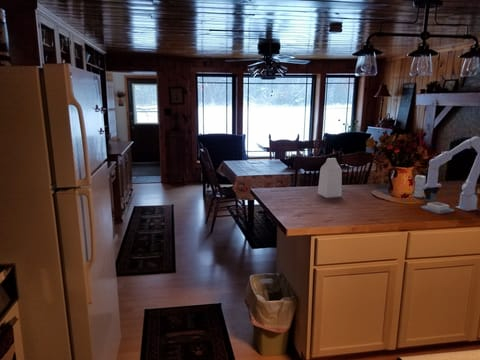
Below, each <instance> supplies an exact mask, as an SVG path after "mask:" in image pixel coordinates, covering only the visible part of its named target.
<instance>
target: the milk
mask: <svg viewBox="0 0 480 360" xmlns="http://www.w3.org/2000/svg"><path fill="white" fill-rule="evenodd" d="M342 173H343V170H342V168H341V165H339V163H338V161H337V158H336V157H331V158H330V157H328V158H327V159H326V161H325V162H324V164H322V166H321V167H320V170H319V179H318V188H317V194H318V195H319V196H321V197H324V198H326V199H328V198H338V197H339V198H340V197H342V191H343V190H342V188H343V186H342V183H343V182H342V181H343V179H342V177H343V174H342Z"/></svg>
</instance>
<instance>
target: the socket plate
mask: <svg viewBox="0 0 480 360" xmlns="http://www.w3.org/2000/svg"><path fill="white" fill-rule="evenodd" d="M420 208H421V209H422V210H425V211H429V212H431V213H432V212H433V213H434V214H438V215H441V214H447V213H453V212H455V211H456V210H455V209H453V208H450V205H449V204H446V203H443V202H440V201H435V202H427V203H426V205H422V206H420Z"/></svg>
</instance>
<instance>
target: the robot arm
mask: <svg viewBox="0 0 480 360" xmlns="http://www.w3.org/2000/svg"><path fill="white" fill-rule="evenodd" d="M472 148H473V149H474V150H475V152H476V153H477V155H476V156H475V159H474V162H473V165H472V167H471V168H470V172H469V174H468V176H467V179H466V180H465V182H464V183H463V184H462V185H461V190H462V192H460V194H459V202H458V206H455V208H456V209H460V210H463V211H466V212H467V211H468V212H470V211H475V210H478V208H477V206H478V196H477V195H476V194H475V193H476V186H477V181H478V179H479V176H480V136H476V135H475V136H472V137H470V138H469V139H466V140H464V141H462V142H461V143H460V144H459V145H457V146H455V147H454V148H452V149H450V150H449V151H447V150H446V151H441V154H439V155H437V156H434V157H433V158H432V159H430V160H429V162H428V166H429V167H428V170H427V178H426V182H425V185H422V189H423V190H424V195H425V196H426V199H428V200H429V199H430V195H431V193H434V194H436V195H437V194H438V192H439V191H440V189H441V187H442V183H438V180H439V179H438V178H439V169H440V166H442V165H443V164H445V163H447V162H448V161H450V160H452V158H453V157H454V156H455V155H456V154H458V153H460V152H462V151H463V150H465V149H472Z"/></svg>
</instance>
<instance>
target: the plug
mask: <svg viewBox="0 0 480 360" xmlns="http://www.w3.org/2000/svg"><path fill="white" fill-rule="evenodd" d="M436 197H437V194H434V193H431V195H430V199H429V200H428V199H426V196H425V197H424V201H425V202H427V203H432V202H436Z"/></svg>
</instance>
